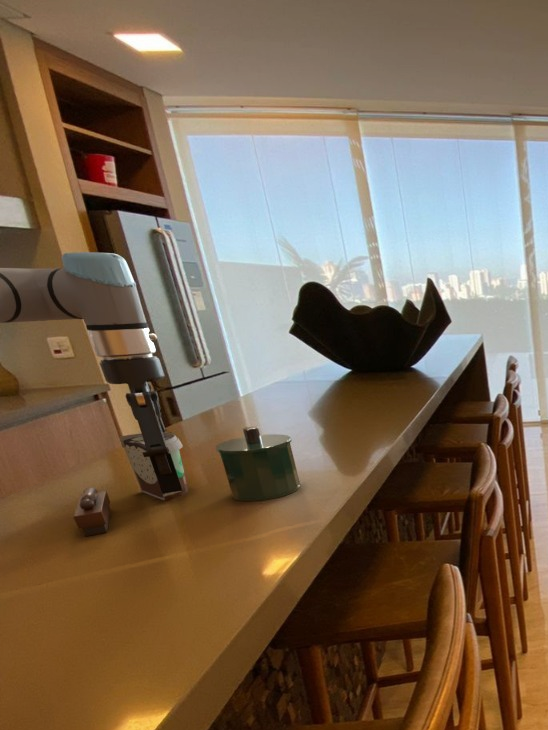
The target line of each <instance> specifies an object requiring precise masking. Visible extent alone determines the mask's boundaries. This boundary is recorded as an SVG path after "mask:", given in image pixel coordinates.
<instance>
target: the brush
mask: <svg viewBox="0 0 548 730" xmlns="http://www.w3.org/2000/svg"><path fill="white" fill-rule="evenodd" d="M77 502H78V503H77V506H76V508H75V511H74V515H73V519H74V521H75V523H76V526H77V529H78V530H81V529H82V532H83V534H84V537H90V536H95V535H101V534H106V533H108V528H109V524H110V517H111V512H112V509H111V508H110V505H111V500H110V497H109V495H108V493H107V490H102V491H98V489H96V488H95V487H92V486H91V487H90V486H89V487H86V488H85V489H84V490H83V492H82V494H80V497H79V500H78V501H77Z"/></svg>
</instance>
